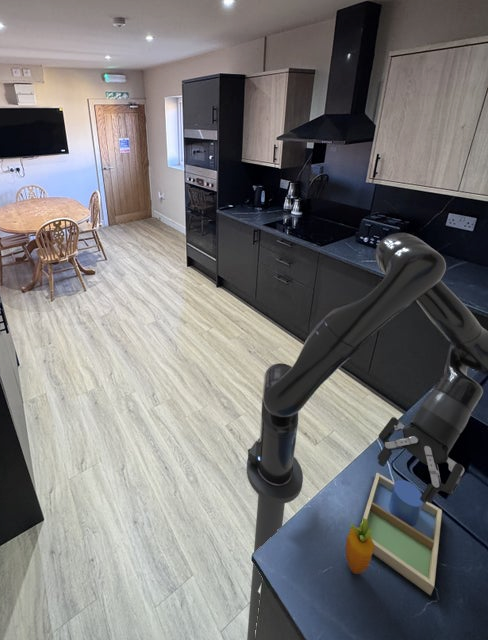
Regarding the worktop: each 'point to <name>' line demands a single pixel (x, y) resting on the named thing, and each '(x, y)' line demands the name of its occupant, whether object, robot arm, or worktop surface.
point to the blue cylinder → (405, 502)
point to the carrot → (359, 547)
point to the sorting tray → (404, 536)
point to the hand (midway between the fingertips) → (400, 482)
